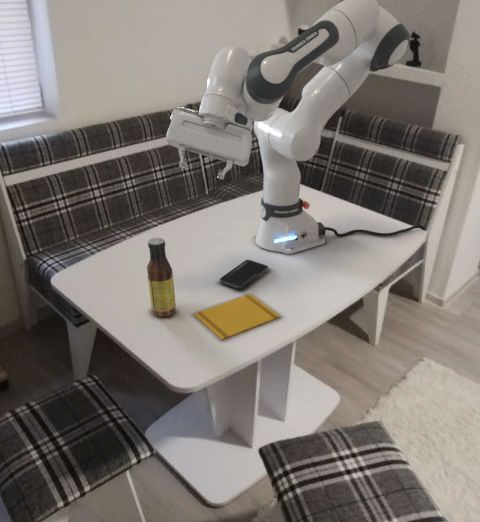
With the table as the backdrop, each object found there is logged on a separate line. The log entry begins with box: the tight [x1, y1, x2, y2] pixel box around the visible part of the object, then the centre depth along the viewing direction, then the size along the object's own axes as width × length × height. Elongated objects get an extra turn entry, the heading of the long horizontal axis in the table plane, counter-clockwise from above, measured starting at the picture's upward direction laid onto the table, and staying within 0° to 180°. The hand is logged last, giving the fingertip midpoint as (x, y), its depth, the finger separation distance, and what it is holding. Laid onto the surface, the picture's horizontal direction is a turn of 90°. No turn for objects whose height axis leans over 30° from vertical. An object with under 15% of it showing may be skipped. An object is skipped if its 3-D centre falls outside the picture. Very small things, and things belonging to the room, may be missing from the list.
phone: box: [219, 259, 269, 291], centre depth 151 cm, size 8×1×15 cm
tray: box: [193, 293, 281, 341], centre depth 135 cm, size 18×13×1 cm
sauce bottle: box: [146, 237, 176, 318], centre depth 130 cm, size 7×6×20 cm
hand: (201, 172), depth 124 cm, fingers open, 8 cm apart
